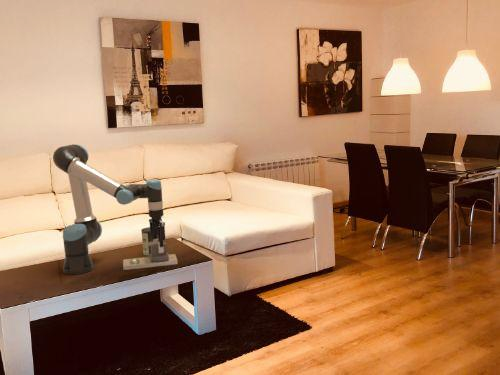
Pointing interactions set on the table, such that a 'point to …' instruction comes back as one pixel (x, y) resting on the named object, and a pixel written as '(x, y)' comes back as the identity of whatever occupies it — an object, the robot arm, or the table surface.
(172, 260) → the base plate
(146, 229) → the coffee can
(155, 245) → the wing knob
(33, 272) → the table surface
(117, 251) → the table surface
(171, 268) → the table surface
